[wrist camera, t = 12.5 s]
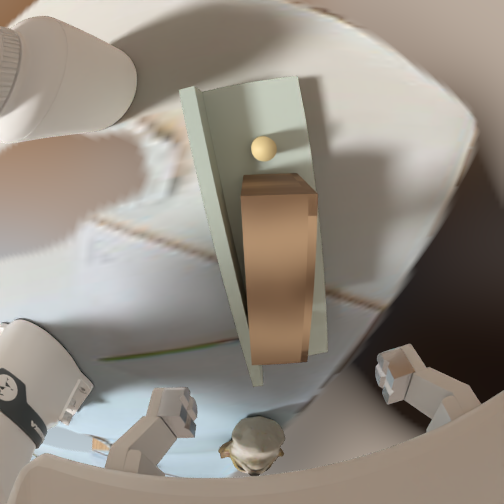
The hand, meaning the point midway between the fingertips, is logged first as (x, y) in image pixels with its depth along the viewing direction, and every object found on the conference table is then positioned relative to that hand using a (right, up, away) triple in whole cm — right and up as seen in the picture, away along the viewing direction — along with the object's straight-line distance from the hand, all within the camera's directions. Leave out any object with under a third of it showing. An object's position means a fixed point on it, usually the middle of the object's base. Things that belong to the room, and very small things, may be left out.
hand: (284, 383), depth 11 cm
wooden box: (0, +6, +12) cm, 14 cm away
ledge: (0, +7, +14) cm, 16 cm away
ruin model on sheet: (-33, -46, +39) cm, 68 cm away
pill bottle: (-15, +20, +8) cm, 26 cm away
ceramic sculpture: (-1, -23, +28) cm, 36 cm away
